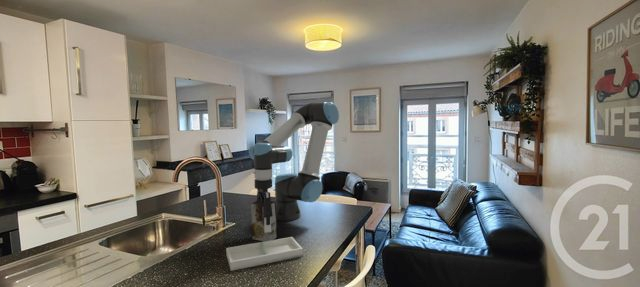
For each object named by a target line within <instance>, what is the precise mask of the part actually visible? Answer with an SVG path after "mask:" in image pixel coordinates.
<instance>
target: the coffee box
mask: <svg viewBox="0 0 640 287" xmlns="http://www.w3.org/2000/svg"><path fill="white" fill-rule="evenodd" d="M271 207H272V214H273V216H272V217H271V232H266V233H265V232H264V218H263V216H265V214H264V208H263V203H262V202H261V201H259V200H258V201H253V202H252V203H250V208H251V209H250V211H251V214H250V215H251V238H252V240H255V241H260V242H265V241H270V240H276V238H277V220H276V202H275V201H271ZM268 214H269V213H268Z"/></svg>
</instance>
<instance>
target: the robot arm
mask: <svg viewBox="0 0 640 287" xmlns="http://www.w3.org/2000/svg"><path fill="white" fill-rule="evenodd" d="M339 113H340V112H339V110H338V106H337V105H336V104H335V103H334V102H331V101H330V102H329V101H324V102H309V103H306V104H305V105H302V106H301V107H299V108H298V109H296V110H295V111H294V112H293V113H291V116H290V117H289V119H287V120H286V121H284V123H283V124H282V125H280V126H279V127H278V128H276V130H274V131H273V132H272V133H271V134H270V135H268V136H267V137H266V138H265V139H264V140H263V141H261V142H258V143H257V142H256V143H255V144H253V145H251V146H250V147H249V149H248V155H249V157H250V159H251V160H253V161H254V162H253V163H254V164H253V165H254V166H253V168H254V171H253V174H254V178H255V179H254V188H255V189H256V190H257V191H256V199H255V200H256V201H258V200H259V201H261V202H262V203H263V208H264V214H265V216H263V218H264V232H265V233H266V232H271V217H272V216H273V214H272V207H271V200H272V199H271V192H270V191H269V189H271V188H273V179H272V178H273V164H281V163H287V162H289V161H291V159H292V158H293V151H292V149H291V147H290V146H288V145H283V144H284V143H285V142H286V141H288V139H290V138H291V137H292V136H293V135H294V134H295V133H296V132H297V131H298V130H299V129H303V128H304V127H305V126H307V125H311V127H312V128H311V131H310V132H311V133H310V137H309V141H308V145H307V149H306V152H305V156H304V161H303V165H302V168H301V170H300V171H299V172H296V173H295V172H289V173H284V174H278V175H276V176H275V179H274V192H275V193H274V194H275V195H274V198H275V199H274V200H275V201H274V202H276V221H294V220H297V219H299V218H300V217H301V209H300V206H299V203H298V201H300V202H303V203H314V202H316V201H317V200H319V198H320V196H322V193H323V183H322V182H321V181H320V180H321V177H320V176H319V171H320V168H321V164H322V159H323V155H324V150H325V147H326V142H327V137H328V132H329V131H331V130H332V129H333V125H335V124H337V123H338V121H339V118H340V114H339ZM256 201H255V202H256ZM268 213H269V214H268Z"/></svg>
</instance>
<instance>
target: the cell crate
mask: <svg viewBox="0 0 640 287" xmlns="http://www.w3.org/2000/svg"><path fill="white" fill-rule="evenodd" d="M225 251H226V256H225V257H226V259H227V262H228V266H229V270H230V271H232V272H233V271H238V270H242V269H247V268H250V267H251V268H253V267H257V266H261V265H265V264H266V265H267V264H270V263H275V262H281V261H282V262H283V261H285V260H286V261H287V260H291V259H295V258H301V257H303V256H304V248H303V247H302V246H301V245H300V243H299V242H297V241H296V239H295V238H294V237H293V236H289V237H283V238H278V239H276V238H275V239H273V240H270V241H260V242H255V243H254V242H252V243H247V244H241V245H237V246H229V247H226V248H225Z"/></svg>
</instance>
